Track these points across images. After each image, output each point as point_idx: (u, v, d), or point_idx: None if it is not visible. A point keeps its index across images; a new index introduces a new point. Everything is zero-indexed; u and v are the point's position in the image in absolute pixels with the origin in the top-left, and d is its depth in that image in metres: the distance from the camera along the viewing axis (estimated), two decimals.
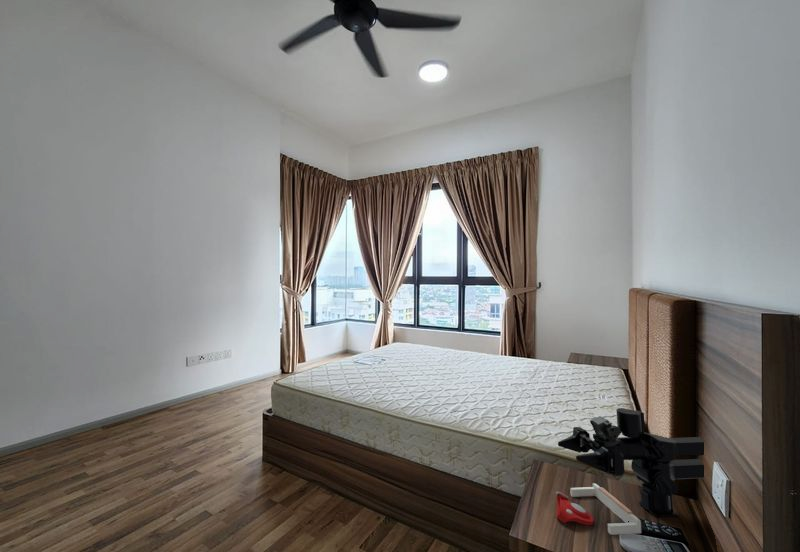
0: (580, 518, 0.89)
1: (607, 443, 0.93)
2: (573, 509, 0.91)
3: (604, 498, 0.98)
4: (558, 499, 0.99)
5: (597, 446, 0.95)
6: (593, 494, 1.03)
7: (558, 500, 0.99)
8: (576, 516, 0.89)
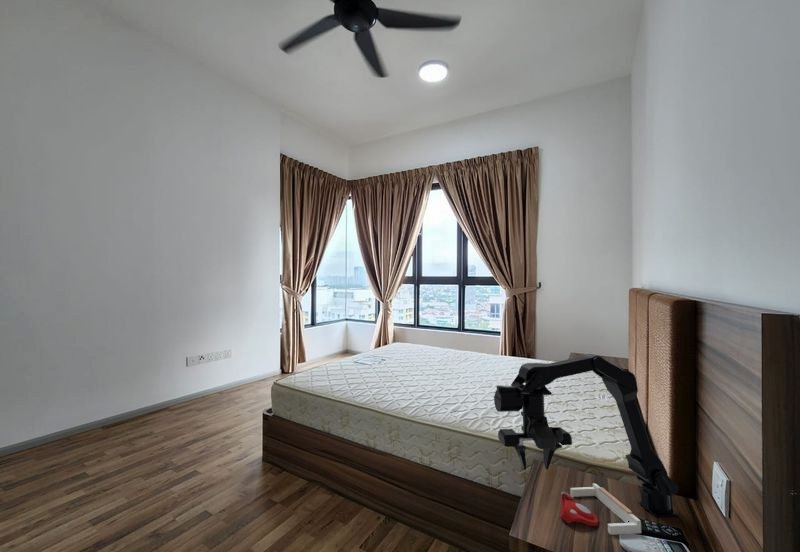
0: (584, 519, 0.88)
1: None
2: (577, 509, 0.91)
3: (604, 498, 0.98)
4: (563, 499, 0.99)
5: None
6: (593, 494, 1.03)
7: (563, 500, 0.99)
8: (580, 516, 0.89)
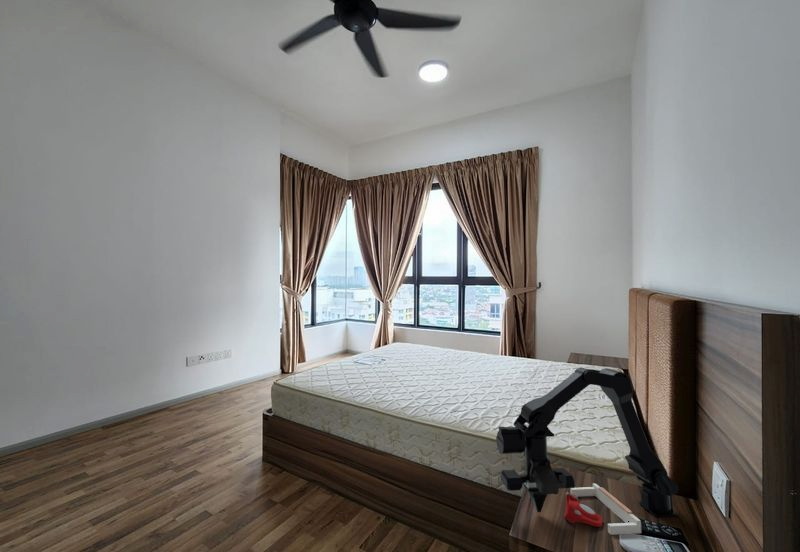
0: (588, 519, 0.88)
1: None
2: (581, 510, 0.91)
3: (604, 498, 0.98)
4: (567, 500, 0.99)
5: None
6: (593, 494, 1.03)
7: (567, 501, 0.98)
8: (584, 517, 0.89)
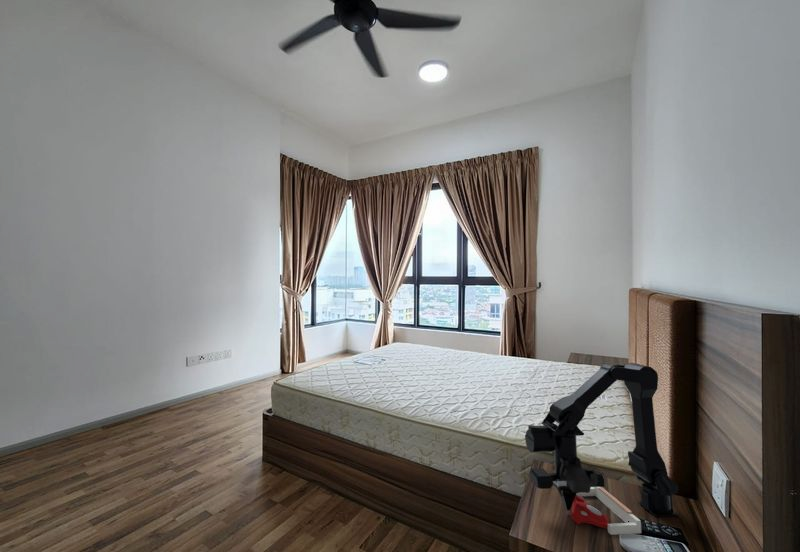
0: (595, 520, 0.88)
1: None
2: (588, 511, 0.90)
3: (604, 498, 0.98)
4: (574, 501, 0.98)
5: None
6: (593, 494, 1.03)
7: (574, 502, 0.98)
8: (591, 518, 0.88)
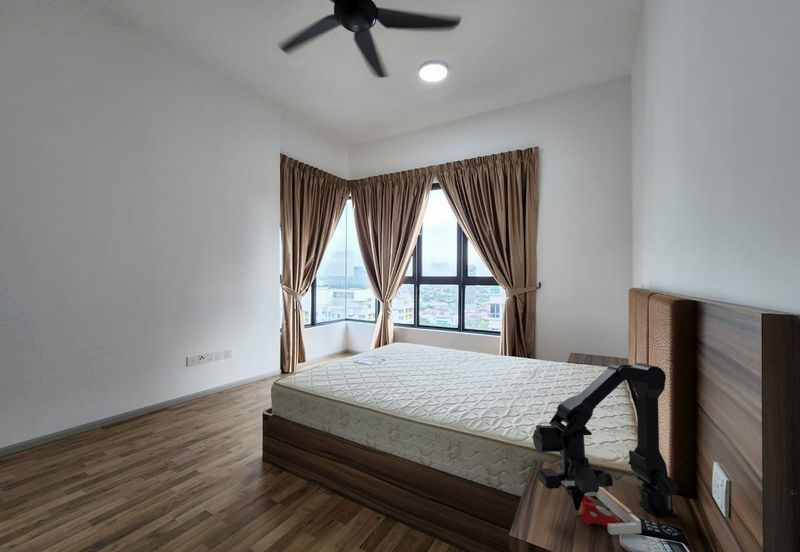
0: (605, 521, 0.87)
1: None
2: (598, 512, 0.90)
3: (604, 498, 0.98)
4: (583, 501, 0.98)
5: None
6: (593, 494, 1.03)
7: (583, 502, 0.97)
8: (601, 519, 0.88)
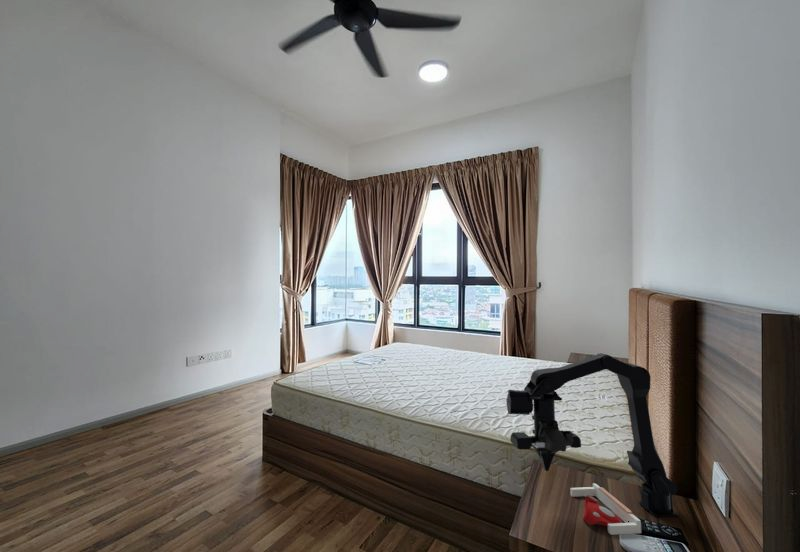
0: (607, 522, 0.87)
1: None
2: (601, 512, 0.90)
3: (604, 498, 0.98)
4: (586, 502, 0.98)
5: None
6: (593, 494, 1.03)
7: (586, 503, 0.97)
8: (603, 519, 0.88)
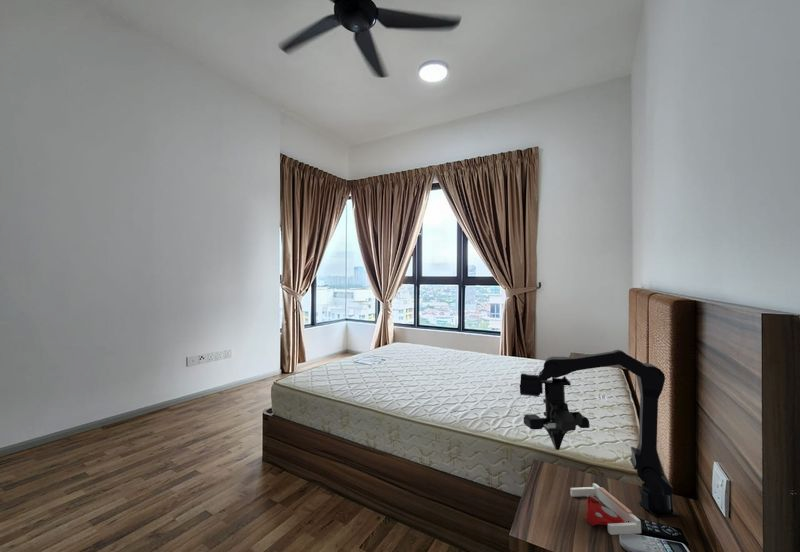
0: (610, 522, 0.87)
1: None
2: (603, 513, 0.89)
3: (604, 498, 0.98)
4: (589, 502, 0.97)
5: None
6: (593, 494, 1.03)
7: (589, 503, 0.97)
8: (606, 520, 0.87)
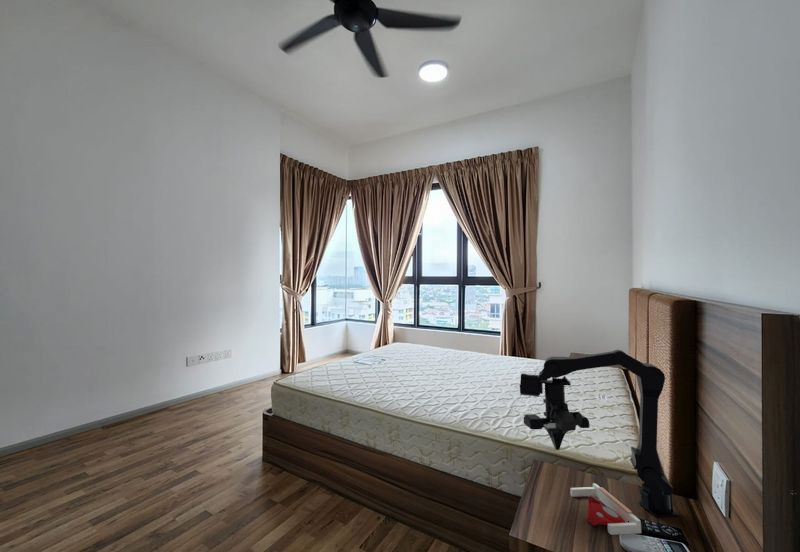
0: (611, 522, 0.87)
1: None
2: (604, 513, 0.89)
3: (604, 498, 0.98)
4: (590, 502, 0.97)
5: None
6: (593, 494, 1.03)
7: (590, 503, 0.97)
8: (607, 520, 0.87)
